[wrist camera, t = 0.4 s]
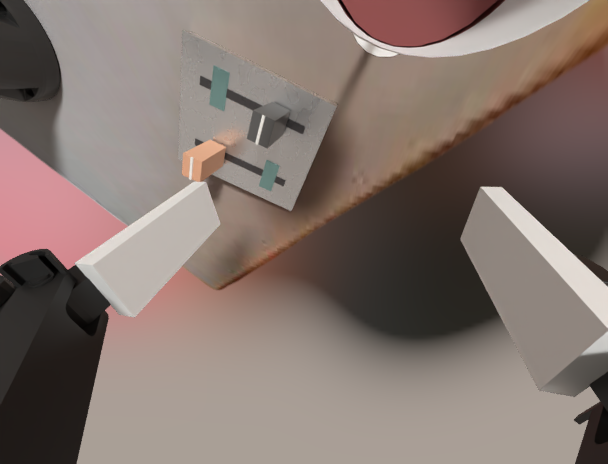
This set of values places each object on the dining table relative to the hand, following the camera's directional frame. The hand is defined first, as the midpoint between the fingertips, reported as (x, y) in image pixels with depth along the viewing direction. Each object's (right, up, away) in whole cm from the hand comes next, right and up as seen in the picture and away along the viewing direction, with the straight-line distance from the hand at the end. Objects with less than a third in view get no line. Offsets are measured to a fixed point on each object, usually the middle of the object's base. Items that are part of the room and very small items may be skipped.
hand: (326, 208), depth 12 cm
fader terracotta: (-14, +10, +21) cm, 27 cm away
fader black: (-4, +13, +17) cm, 22 cm away
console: (-8, +13, +21) cm, 26 cm away
